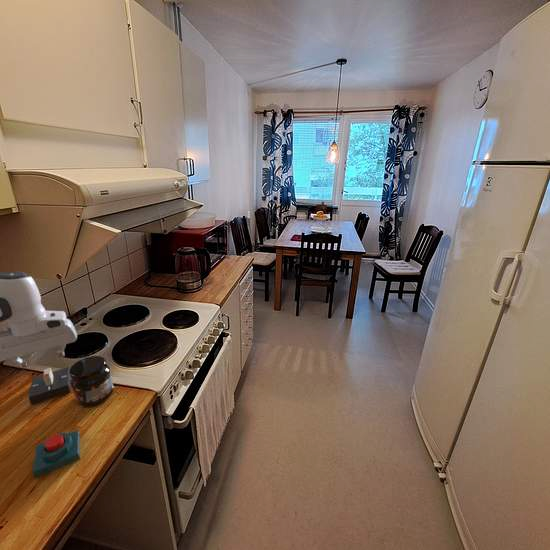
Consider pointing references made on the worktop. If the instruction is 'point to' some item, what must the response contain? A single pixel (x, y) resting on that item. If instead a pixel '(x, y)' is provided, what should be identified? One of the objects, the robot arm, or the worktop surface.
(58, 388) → the stove panel
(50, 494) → the worktop surface
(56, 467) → the teal square base
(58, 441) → the timer button
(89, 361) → the supplement container
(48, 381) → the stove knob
